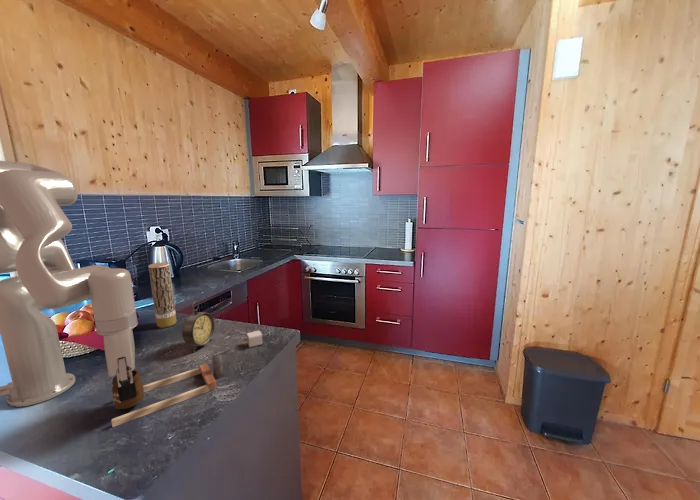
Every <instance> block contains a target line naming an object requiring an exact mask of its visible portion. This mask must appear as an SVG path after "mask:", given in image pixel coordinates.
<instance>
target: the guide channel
mask: <svg viewBox="0 0 700 500" xmlns="http://www.w3.org/2000/svg"><path fill="white" fill-rule="evenodd" d="M222 358H223V357H222V354H214V355H213V356H212V358H211V359H212V369H213V372H212V370H211V368H210V365H209V364H208V363H203V364H200V365H199V367H195V368H193V369H190V370H187V371H186V370H185V371H184V372H181V373H177V374H175V375H171V376H168V377H166V378H165V377H164V378H163V379H160V380H156V381H152V382H149V383H147V384H144V385H143V389H144V394H145V393H148V392H150V391H153V390H156V389H159V388H162V387H165V386H168V385H172V384H173V383H177V382H180V381H183V380H186V379H188V378H192V377H194V376H198V375H200V374H201V376H202V379H203V381H204V385H201V386H199V387H196V388H194V389H190V390H188V391H186V392H181V393H179V394H177V395H174V396H172V397H168V398H166V399H164V400H161V401H158V402H155V403H152V404H149V405H147V406H144V407H141V408H138V409H135V410H132V411H130V412H128V413H124V414H122V415H120V416H116V417H114V418H111V422H110V423H111V426H112V428H116V427H117V426H120V425H121V426H122V425H123V424H126V423H128V422H131V421H134V420H137V419H138V418H141V417H145V416H146V415H149V414H152V413H155V412H158V411H161V410H163V409H165V408H167V407H170V406H173V405H176V404H179V403H181V402H184V401H186V400H189V399H192V398H196V397H198V396H200V395H203V394H205V393H208V392H211V391H212V390H215V389H217V388H218V385H217V380H216V379H221V378H222V377H223V376H224V369H223V359H222ZM112 401H113V400H112ZM113 403H114V401H113Z"/></svg>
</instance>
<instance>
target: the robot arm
mask: <svg viewBox="0 0 700 500" xmlns="http://www.w3.org/2000/svg"><path fill="white" fill-rule="evenodd" d="M78 196H79V195H78V189H77V186H76V185H75V183H74V182H73V180H72V179H71V178H69V176H67V175H65V174H64V173H62V172H60V171H57V170H54V169H50V168H46V167H43V166H40V165H38V164H33V163H30V162H29V163H28V162H21V161H10V160H0V274H9V273H14V272H16V273H17V276H12V277H8V278H5V279H2V280H0V339H1V343H2V346H3V349H4V353H5V358H6V363H7V366H8V370H9V374H10V378H11V382H7V383H6V384H5V385H2V386H0V398H2V397H6V396H7V397H6V402H7V405H8V404H9V405H11V406H10V407H12V406H16V407H17V408H18V407H19V408H23V407H30V406H33V405H36V404H40V403H43V402H46V401H49V400H51V399H53V398H55V397H58V396H59V395H61V394H63V393H65V392H66V391H68V390H69V389H70V388H71V387H72V386H73V385H74V384H75V383H76V376H75V375H74V374H73V373H69V372H66V367H65V362H64V357H63V353H62V352H63V351H62V348H61V343H60V339H59V338H60V337H59V333H58V329H57V324H56V323H55V320H53V319H52V318H50V317H49V316H47V315H45V314H44V313H43V312H41V311H42V310H44V309H49V310H57V309H63V308H66V307H68V306H72V305H75V304H78V303H82V302H85V301H88V300H90V302H91V307H92V312H93V313H92V315H93V318H94V323H95V328H96V329H95V330H96V334H98V336H99V335H100V336H102V337H103V347H104V355H105V360H106V369H107V376H108V377H109V378H113V377H115V376H116V375H117V381H118V386H117V388H118V393H119V399H120V402H122V401H125V400H128V399H131V398H134V397H136V396H137V392H136V386H135V380H134V381H133V376H132V371H133V370H136V369H135V368H136V366H135V365H136V352H135V351H136V347H135V339H134V334H133V333H134V332H133V330H134V328H135V327H137V326H138V325H139V323H138V317H137V310H136V303H135V295H134V289H133V283H132V276H131V273H130V271H129V270H127V269H126V268H119V267H117V268H114V267H113V268H111V267H109V266H105V265H102V264H92V265H88V266H83V267H78V268H76V267H75V266H76V265H74V261H73V259H72V258H71V255H70V253H69V250H68V249H67V246H66V244H65V243H64V241H63V240H62V239H63V238H65V237H66V236H67V235H68V234H69V233H70V232H71V231H72V229H73V224H72V222H71V221H70V219H69V218H68V217H67V215H66V214H65V212H64V210H63V209H62V208H61V207H66V206H67V207H68V206H71V205H73V204H75V202H76V201H77V199H78ZM128 367H129V370H127V368H128ZM127 373H129V376H130V377H129V376H127ZM9 405H8V406H9ZM22 406H23V407H22ZM16 407H15V408H16Z"/></svg>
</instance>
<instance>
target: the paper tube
mask: <svg viewBox="0 0 700 500" xmlns="http://www.w3.org/2000/svg"><path fill="white" fill-rule="evenodd" d="M148 273H149V280H150V286H151V287H150V288H151V295H152V300H153V301H152V302H153V307H154V314H155V315H154V316H155V321H156V326H157V327H158V328H161V329H162V328H163V329H164V328H170V327H173V326H174V325H175V324H177V316H176V306H175V297H174V290H173V282H172V274H171V266H170V263H169V262H155V263H152V264H149V265H148Z"/></svg>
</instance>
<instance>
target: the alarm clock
mask: <svg viewBox="0 0 700 500" xmlns="http://www.w3.org/2000/svg"><path fill="white" fill-rule="evenodd" d="M195 303H197V308H195V309H194V308H193V307H194V304H195ZM199 307H200V304H199V302H198V301H197V300H196V301H193V303H192V304H191V311H193V312H192V313H191V314H190V315H188V316H187V317H186V319H185V320H184V322H183V325H182V329H181V334H182V339H183V341H184V342H185V343H186V344H187V345H189V346H193V351H192V354H195V352H196V350H197V347H203V346H205V345H207V344H208V343H210V341H213V340H212V337H213V336H214V335H213V334H214V332H215V321H214V317H213V316H212V315H211V313H209V312H204V311H203V312H202V311H201V312H198V309H199Z"/></svg>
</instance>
